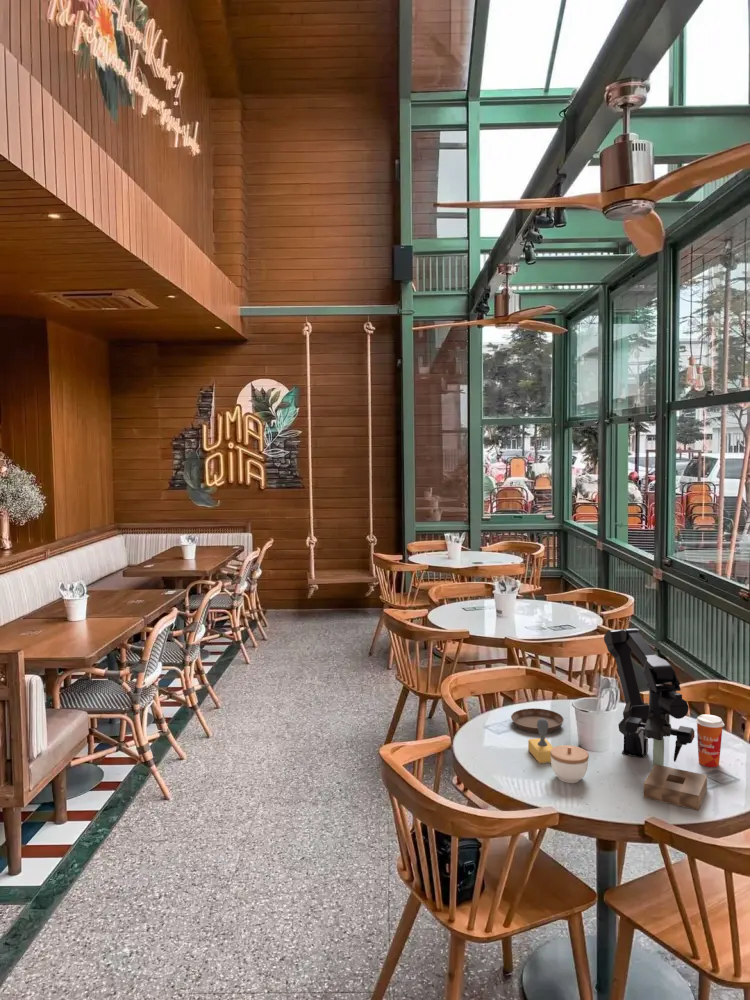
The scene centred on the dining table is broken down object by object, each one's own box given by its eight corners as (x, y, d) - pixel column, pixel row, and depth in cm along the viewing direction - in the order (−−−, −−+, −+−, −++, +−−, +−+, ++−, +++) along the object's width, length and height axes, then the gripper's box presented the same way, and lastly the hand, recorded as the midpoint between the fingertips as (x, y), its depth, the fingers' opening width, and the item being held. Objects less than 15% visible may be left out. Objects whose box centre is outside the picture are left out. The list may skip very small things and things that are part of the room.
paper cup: (691, 764, 225) (692, 718, 224) (700, 755, 230) (701, 711, 229) (718, 771, 219) (719, 725, 218) (726, 763, 225) (728, 718, 224)
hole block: (643, 797, 204) (643, 783, 204) (654, 777, 216) (654, 764, 216) (698, 810, 197) (698, 795, 197) (706, 789, 209) (707, 775, 208)
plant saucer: (524, 738, 246) (524, 729, 246) (502, 719, 263) (502, 710, 263) (573, 732, 250) (573, 724, 250) (548, 714, 267) (548, 706, 267)
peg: (651, 771, 220) (652, 738, 219) (653, 767, 222) (654, 735, 222) (662, 774, 218) (663, 741, 218) (664, 770, 221) (665, 737, 220)
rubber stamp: (557, 762, 227) (557, 723, 227) (538, 763, 227) (539, 725, 226) (545, 748, 237) (545, 712, 236) (527, 750, 237) (528, 713, 236)
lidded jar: (569, 790, 209) (570, 758, 208) (542, 776, 218) (542, 745, 217) (596, 780, 215) (596, 749, 214) (568, 767, 224) (568, 736, 223)
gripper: (619, 709, 217) (619, 761, 218) (688, 721, 207) (687, 775, 208) (629, 697, 226) (628, 747, 228) (695, 708, 216) (694, 760, 218)
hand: (658, 757), depth 220 cm, fingers open, 9 cm apart
